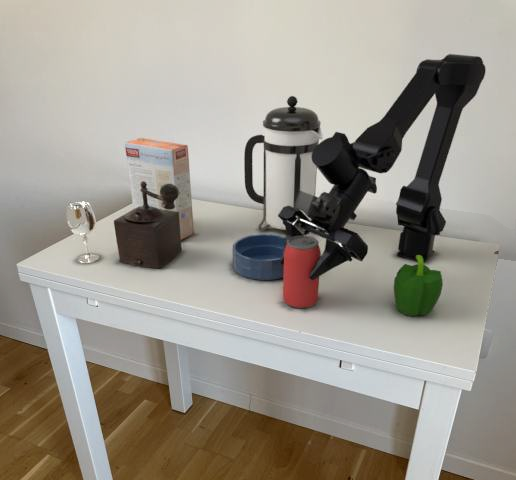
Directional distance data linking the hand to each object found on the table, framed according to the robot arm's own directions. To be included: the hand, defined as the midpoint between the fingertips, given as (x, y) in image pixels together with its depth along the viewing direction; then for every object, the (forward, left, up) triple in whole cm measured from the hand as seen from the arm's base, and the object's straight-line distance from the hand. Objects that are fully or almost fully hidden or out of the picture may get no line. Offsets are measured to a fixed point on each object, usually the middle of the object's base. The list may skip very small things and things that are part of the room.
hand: (295, 271), depth 98 cm
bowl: (+14, -10, -7) cm, 18 cm away
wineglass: (+48, +9, -7) cm, 49 cm away
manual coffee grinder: (+35, 0, -7) cm, 35 cm away
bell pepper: (-19, -10, -7) cm, 23 cm away
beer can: (0, -1, -7) cm, 7 cm away
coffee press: (+23, -31, -7) cm, 39 cm away
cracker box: (+45, -12, -7) cm, 47 cm away
